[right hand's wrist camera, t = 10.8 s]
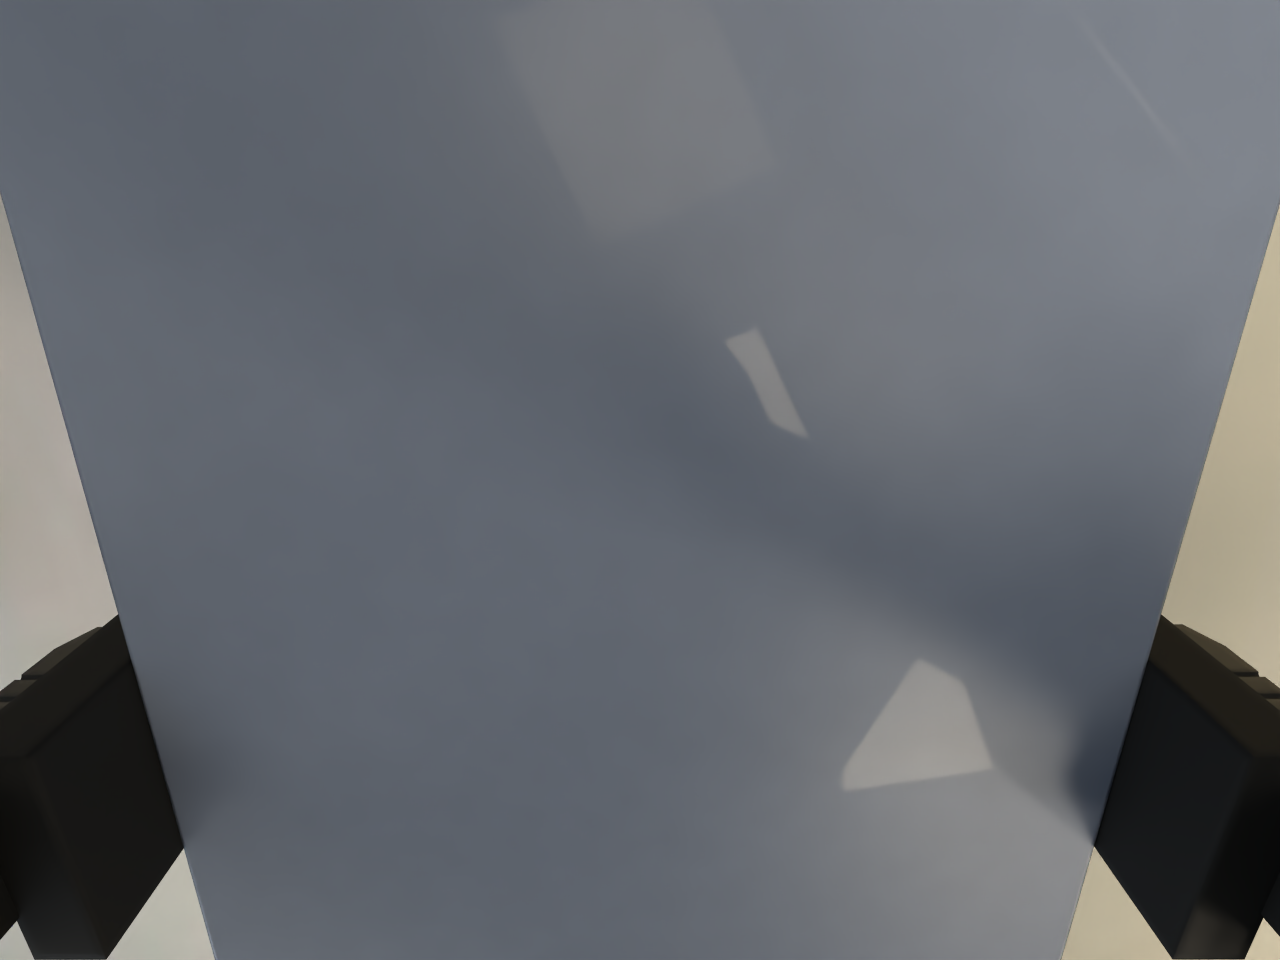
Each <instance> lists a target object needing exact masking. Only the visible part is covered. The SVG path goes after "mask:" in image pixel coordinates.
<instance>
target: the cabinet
mask: <svg viewBox="0 0 1280 960" xmlns="http://www.w3.org/2000/svg"><path fill="white" fill-rule="evenodd" d="M0 193H1V196H2V200H3V204H4V207H5V211H6V214H7V218H8V221H9V225H10V229H11V232H12V236H13V239H14V243H15V246H16V250H17V254H18V257H19V261H20V264H21V268H22V271H23V275H24V279H25V282H26V286H27V289H28V293H29V296H30V300H31V304H32V307H33V311H34V314H35V318H36V321H37V325H38V329H39V332H40V336H41V339H42V343H43V346H44V350H45V354H46V357H47V361H48V364H49V368H50V371H51V375H52V379H53V382H54V386H55V389H56V393H57V396H58V400H59V404H60V407H61V411H62V414H63V418H64V421H65V425H66V429H67V432H68V436H69V439H70V443H71V446H72V450H73V454H74V457H75V461H76V464H77V468H78V471H79V475H80V479H81V482H82V486H83V489H84V493H85V496H86V500H87V504H88V507H89V511H90V514H91V518H92V521H93V525H94V529H95V532H96V536H97V539H98V543H99V546H100V550H101V554H102V557H103V561H104V564H105V568H106V571H107V575H108V579H109V582H110V586H111V589H112V593H113V596H114V600H115V604H116V607H117V611H118V614H119V618H120V621H121V625H122V629H123V632H124V636H125V639H126V643H127V646H128V650H129V654H130V657H131V661H132V664H133V668H134V671H135V675H136V679H137V682H138V686H139V689H140V693H141V696H142V700H143V704H144V707H145V711H146V714H147V718H148V722H149V725H150V729H151V732H152V736H153V739H154V743H155V747H156V750H157V754H158V757H159V761H160V764H161V768H162V772H163V775H164V779H165V782H166V786H167V789H168V793H169V797H170V800H171V804H172V807H173V811H174V814H175V818H176V822H177V825H178V829H179V832H180V836H181V839H182V843H183V847H184V850H185V854H186V857H187V861H188V864H189V868H190V872H191V875H192V879H193V882H194V886H195V889H196V893H197V897H198V900H199V904H200V907H201V911H202V914H203V918H204V922H205V925H206V929H207V932H208V936H209V939H210V943H211V947H212V950H213V954H214V957H215V960H1061V959H1062V955H1063V952H1064V948H1065V945H1066V941H1067V938H1068V934H1069V931H1070V927H1071V924H1072V920H1073V917H1074V914H1075V910H1076V907H1077V903H1078V900H1079V896H1080V893H1081V889H1082V886H1083V882H1084V879H1085V876H1086V872H1087V869H1088V865H1089V862H1090V858H1091V855H1092V851H1093V848H1094V844H1095V841H1096V837H1097V834H1098V831H1099V827H1100V824H1101V820H1102V817H1103V813H1104V810H1105V806H1106V803H1107V799H1108V796H1109V792H1110V789H1111V786H1112V782H1113V779H1114V775H1115V772H1116V768H1117V765H1118V761H1119V758H1120V754H1121V751H1122V748H1123V744H1124V741H1125V737H1126V734H1127V730H1128V727H1129V723H1130V720H1131V716H1132V713H1133V709H1134V706H1135V703H1136V699H1137V696H1138V692H1139V689H1140V685H1141V682H1142V678H1143V675H1144V671H1145V668H1146V664H1147V661H1148V658H1149V654H1150V651H1151V647H1152V644H1153V640H1154V637H1155V633H1156V630H1157V626H1158V623H1159V620H1160V616H1161V613H1162V609H1163V606H1164V602H1165V599H1166V595H1167V592H1168V588H1169V585H1170V581H1171V578H1172V575H1173V571H1174V568H1175V564H1176V561H1177V557H1178V554H1179V550H1180V547H1181V543H1182V540H1183V537H1184V533H1185V530H1186V526H1187V523H1188V519H1189V516H1190V512H1191V509H1192V505H1193V502H1194V498H1195V495H1196V492H1197V488H1198V485H1199V481H1200V478H1201V474H1202V471H1203V467H1204V464H1205V460H1206V457H1207V453H1208V450H1209V447H1210V443H1211V440H1212V436H1213V433H1214V429H1215V426H1216V422H1217V419H1218V415H1219V412H1220V409H1221V405H1222V402H1223V398H1224V395H1225V391H1226V388H1227V384H1228V381H1229V377H1230V374H1231V370H1232V367H1233V364H1234V360H1235V357H1236V353H1237V350H1238V346H1239V343H1240V339H1241V336H1242V332H1243V329H1244V325H1245V322H1246V319H1247V315H1248V312H1249V308H1250V305H1251V301H1252V298H1253V294H1254V291H1255V287H1256V284H1257V281H1258V277H1259V274H1260V270H1261V267H1262V263H1263V260H1264V256H1265V253H1266V249H1267V246H1268V242H1269V239H1270V236H1271V232H1272V229H1273V225H1274V222H1275V218H1276V215H1277V211H1278V208H1279V204H1280V0H0Z"/></svg>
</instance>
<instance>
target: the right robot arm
mask: <svg viewBox="0 0 1280 960" xmlns="http://www.w3.org/2000/svg"><path fill="white" fill-rule="evenodd" d="M1094 847H1095V848H1096V850H1097V851H1098V852H1099V854H1100V855H1101V857H1102V858H1103V860H1104V861H1105V863H1106V864H1107V865H1108V867H1109V868H1110V870H1111V871H1112V873H1113V874H1114V875H1115V877H1116V878H1117V880H1118V881H1119V883H1120V884H1121V886H1122V887H1123V888H1124V890H1125V891H1126V893H1127V894H1128V896H1129V897H1130V899H1131V900H1132V901H1133V903H1134V904H1135V906H1136V907H1137V909H1138V910H1139V911H1140V913H1141V914H1142V916H1143V917H1144V919H1145V920H1146V922H1147V923H1148V924H1149V926H1150V927H1151V929H1152V930H1153V932H1154V933H1155V935H1156V936H1157V937H1158V939H1159V940H1160V942H1161V943H1162V945H1163V946H1164V947H1165V949H1166V950H1167V952H1168V953H1169V955H1170V956H1171V958H1172V959H1245V957H1246V955H1247V953H1248V950H1249V948H1250V946H1251V944H1252V942H1253V939H1254V937H1255V935H1256V933H1257V930H1258V928H1259V926H1260V924H1261V922H1262V919H1263V918H1264V919H1265V920H1266V921H1267V922H1268V923H1269V925H1270V926H1271V927H1272V928H1273V929H1274V930H1275V931H1276V933H1277V934H1278V935H1279V936H1280V688H1279V687H1277V686H1276V685H1275V684H1273V683H1272V682H1271V681H1270V680H1268V679H1267V678H1266V677H1259V675H1258V671H1257V670H1255V669H1254V668H1253V667H1252V666H1250V665H1249V664H1248V663H1246V662H1245V661H1244V660H1242V659H1241V658H1240V657H1239V656H1237V655H1236V654H1235V653H1233V652H1232V651H1231V650H1230V649H1228V648H1227V647H1226V646H1224V645H1222V644H1220V643H1218V642H1216V641H1214V640H1212V639H1210V638H1208V637H1206V636H1204V635H1202V634H1200V633H1198V632H1196V631H1194V630H1192V629H1190V628H1188V627H1186V626H1184V625H1182V624H1172V623H1171V622H1170V621H1169V620H1167V619H1166V618H1165V617H1164V616H1162V615H1161V616H1160V620H1159V623H1158V626H1157V630H1156V633H1155V637H1154V640H1153V644H1152V647H1151V651H1150V654H1149V658H1148V661H1147V664H1146V668H1145V671H1144V675H1143V678H1142V682H1141V685H1140V689H1139V692H1138V696H1137V699H1136V703H1135V706H1134V709H1133V713H1132V716H1131V720H1130V723H1129V727H1128V730H1127V734H1126V737H1125V741H1124V744H1123V748H1122V751H1121V754H1120V758H1119V761H1118V765H1117V768H1116V772H1115V775H1114V779H1113V782H1112V786H1111V789H1110V792H1109V796H1108V799H1107V803H1106V806H1105V810H1104V813H1103V817H1102V820H1101V824H1100V827H1099V831H1098V834H1097V837H1096V841H1095V844H1094ZM183 848H184V847H183V843H182V839H181V836H180V832H179V829H178V825H177V822H176V818H175V814H174V811H173V807H172V804H171V800H170V797H169V793H168V789H167V786H166V782H165V779H164V775H163V772H162V768H161V764H160V761H159V757H158V754H157V750H156V747H155V743H154V739H153V736H152V732H151V729H150V725H149V722H148V718H147V714H146V711H145V707H144V704H143V700H142V696H141V693H140V689H139V686H138V682H137V679H136V675H135V671H134V668H133V664H132V661H131V657H130V654H129V650H128V646H127V643H126V639H125V636H124V632H123V629H122V625H121V621H120V618H119V614H118V615H117V616H115V617H114V618H113V619H112V620H110V621H109V622H108V623H107V624H106V625H104V626H103V627H97V628H95V629H93V630H91V631H89V632H87V633H85V634H83V635H81V636H79V637H77V638H75V639H73V640H71V641H69V642H67V643H65V644H63V645H61V646H59V647H57V648H56V649H54V650H53V651H51V652H50V653H49V654H48V655H46V656H45V657H44V658H42V659H41V660H40V661H39V662H37V663H36V664H35V665H33V666H32V667H31V668H30V669H28V670H27V671H26V672H24V673H23V674H22V677H21V680H14V681H13V682H12V683H10V684H9V685H8V686H7V687H5V688H4V689H3V690H1V691H0V940H1V938H2V937H3V936H4V935H5V934H6V933H7V931H8V930H9V929H10V928H11V927H12V926H13V924H14V923H15V922H16V921H17V922H18V924H19V926H20V929H21V931H22V933H23V935H24V937H25V940H26V942H27V944H28V946H29V948H30V951H31V953H32V955H33V957H34V959H35V960H106V959H107V958H108V956H109V955H110V954H111V952H112V951H113V949H114V948H115V946H116V945H117V943H118V942H119V941H120V939H121V938H122V936H123V935H124V933H125V932H126V930H127V929H128V928H129V926H130V925H131V923H132V922H133V920H134V919H135V918H136V916H137V915H138V913H139V912H140V910H141V909H142V907H143V906H144V905H145V903H146V902H147V900H148V899H149V897H150V896H151V894H152V893H153V892H154V890H155V889H156V887H157V886H158V884H159V883H160V882H161V880H162V879H163V877H164V876H165V874H166V873H167V871H168V870H169V869H170V867H171V866H172V864H173V863H174V861H175V860H176V858H177V857H178V856H179V854H180V853H181V851H182V850H183Z"/></svg>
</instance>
